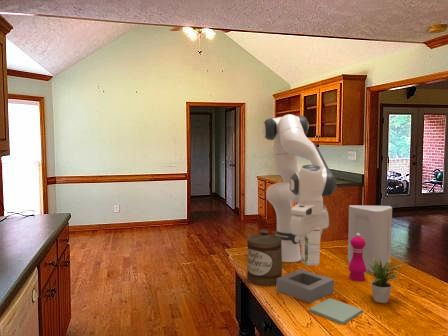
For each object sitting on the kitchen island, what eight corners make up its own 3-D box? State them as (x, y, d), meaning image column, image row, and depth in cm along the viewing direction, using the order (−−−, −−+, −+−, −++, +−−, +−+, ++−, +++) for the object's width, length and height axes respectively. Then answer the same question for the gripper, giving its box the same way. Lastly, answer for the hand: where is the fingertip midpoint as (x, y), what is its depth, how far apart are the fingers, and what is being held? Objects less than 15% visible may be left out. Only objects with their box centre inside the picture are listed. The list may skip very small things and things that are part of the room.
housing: (276, 290, 150) (276, 278, 150) (300, 280, 161) (300, 269, 160) (310, 303, 138) (310, 290, 138) (333, 291, 149) (334, 279, 148)
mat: (309, 311, 132) (309, 308, 132) (329, 300, 140) (329, 298, 140) (342, 324, 122) (342, 321, 122) (362, 312, 131) (362, 309, 131)
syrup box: (300, 261, 148) (301, 224, 147) (315, 260, 148) (315, 224, 147) (305, 265, 142) (305, 227, 141) (320, 265, 142) (320, 227, 141)
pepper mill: (367, 282, 159) (368, 235, 157) (349, 280, 160) (350, 234, 158) (364, 276, 166) (365, 231, 164) (347, 274, 167) (348, 230, 166)
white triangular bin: (354, 271, 172) (355, 210, 169) (347, 261, 186) (348, 205, 184) (397, 273, 169) (399, 211, 167) (387, 262, 184) (389, 206, 182)
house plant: (399, 313, 130) (401, 267, 129) (358, 304, 137) (359, 260, 136) (404, 298, 142) (406, 256, 141) (366, 291, 149) (367, 250, 148)
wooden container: (240, 280, 161) (240, 229, 160) (261, 271, 172) (261, 223, 171) (268, 289, 151) (268, 235, 150) (288, 279, 162) (289, 229, 161)
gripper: (319, 203, 153) (319, 236, 154) (287, 209, 139) (287, 246, 140) (333, 205, 148) (332, 239, 149) (301, 212, 135) (301, 249, 135)
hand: (310, 243), depth 145 cm, fingers closed on syrup box, 8 cm apart
